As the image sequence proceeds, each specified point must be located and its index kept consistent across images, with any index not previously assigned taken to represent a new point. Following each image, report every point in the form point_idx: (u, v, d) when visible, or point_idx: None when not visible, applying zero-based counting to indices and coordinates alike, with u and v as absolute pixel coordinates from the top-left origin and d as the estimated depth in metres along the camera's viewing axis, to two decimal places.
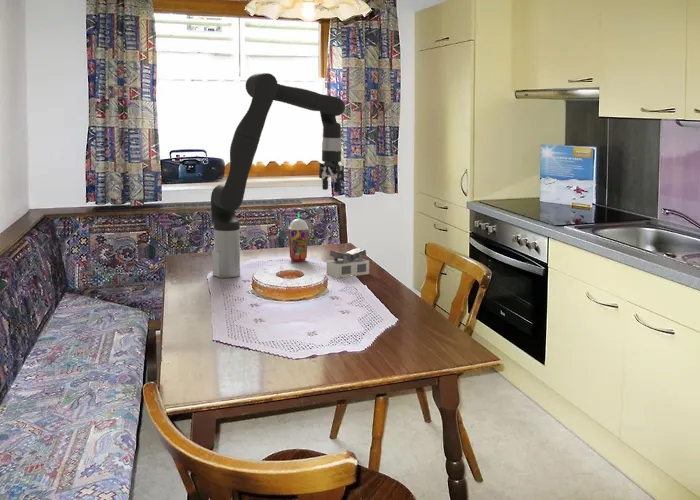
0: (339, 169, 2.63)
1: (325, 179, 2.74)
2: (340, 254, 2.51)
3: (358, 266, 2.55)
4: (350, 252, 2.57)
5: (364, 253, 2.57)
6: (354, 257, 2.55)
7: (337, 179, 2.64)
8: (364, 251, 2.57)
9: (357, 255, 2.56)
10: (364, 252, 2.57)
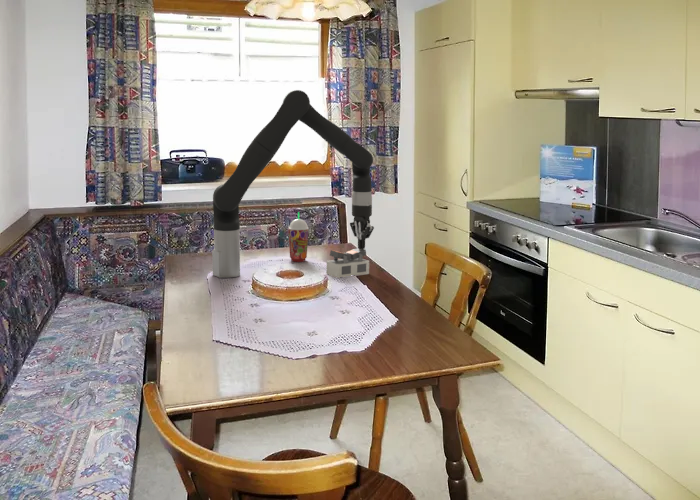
0: (368, 231, 2.53)
1: None
2: (340, 254, 2.51)
3: (358, 266, 2.55)
4: (350, 252, 2.57)
5: (364, 253, 2.57)
6: (354, 257, 2.55)
7: (362, 237, 2.55)
8: (364, 251, 2.57)
9: (357, 255, 2.56)
10: (364, 252, 2.57)
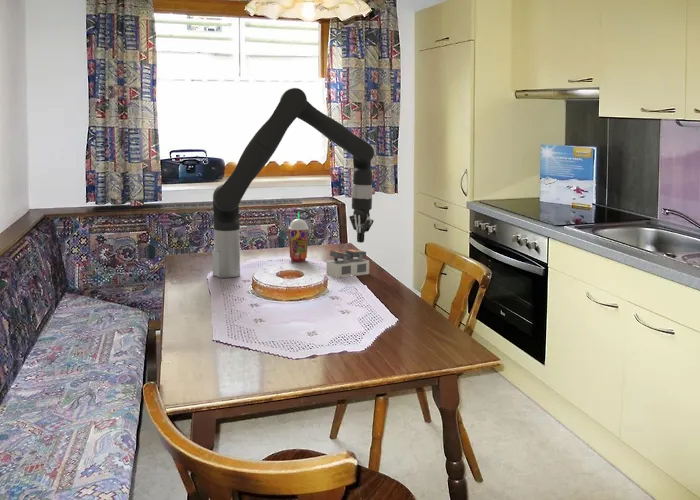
0: (368, 224, 2.52)
1: None
2: (340, 254, 2.51)
3: (358, 266, 2.55)
4: (351, 250, 2.57)
5: (364, 255, 2.57)
6: (354, 255, 2.55)
7: (362, 230, 2.55)
8: (364, 253, 2.57)
9: (357, 254, 2.56)
10: (364, 254, 2.57)
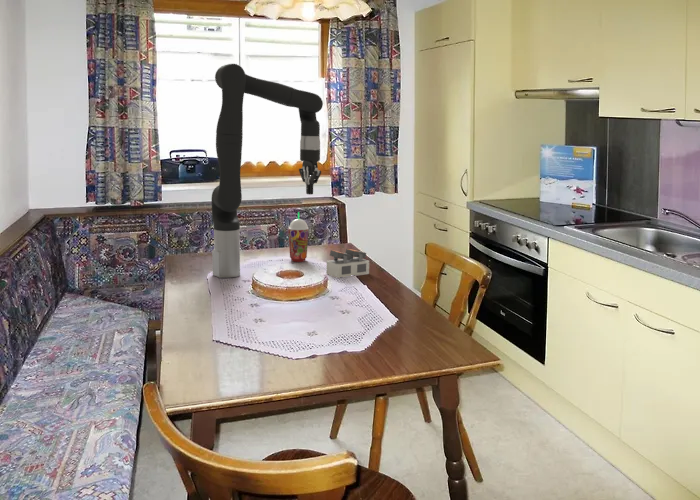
0: (315, 175, 2.53)
1: None
2: (340, 254, 2.51)
3: (358, 266, 2.55)
4: (351, 249, 2.57)
5: (364, 256, 2.57)
6: (354, 254, 2.55)
7: (310, 181, 2.56)
8: (364, 254, 2.58)
9: (357, 254, 2.56)
10: (364, 255, 2.57)
